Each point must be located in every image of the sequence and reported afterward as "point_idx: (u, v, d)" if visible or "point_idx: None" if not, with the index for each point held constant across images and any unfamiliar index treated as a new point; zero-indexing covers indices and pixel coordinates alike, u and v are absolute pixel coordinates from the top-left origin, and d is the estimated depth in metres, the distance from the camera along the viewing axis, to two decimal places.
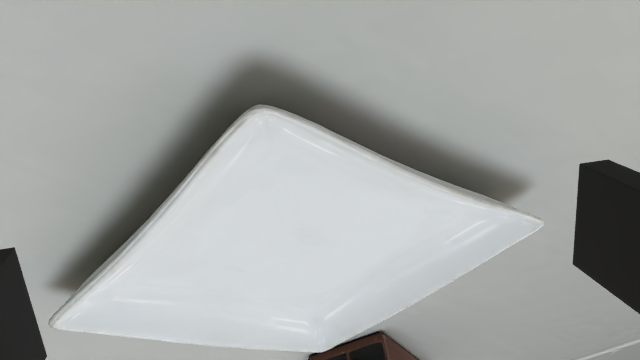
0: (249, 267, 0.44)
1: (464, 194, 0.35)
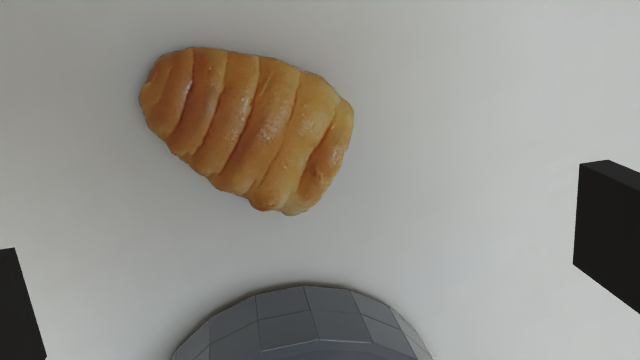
0: None
1: None
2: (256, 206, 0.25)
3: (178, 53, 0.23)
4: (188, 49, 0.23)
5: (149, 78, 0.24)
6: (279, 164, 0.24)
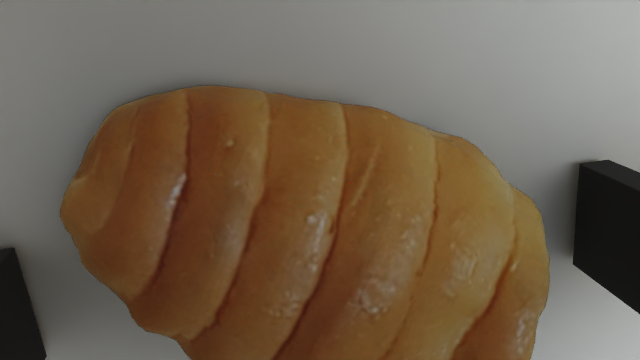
0: None
1: None
2: None
3: (151, 106, 0.10)
4: (175, 95, 0.10)
5: (84, 165, 0.10)
6: None
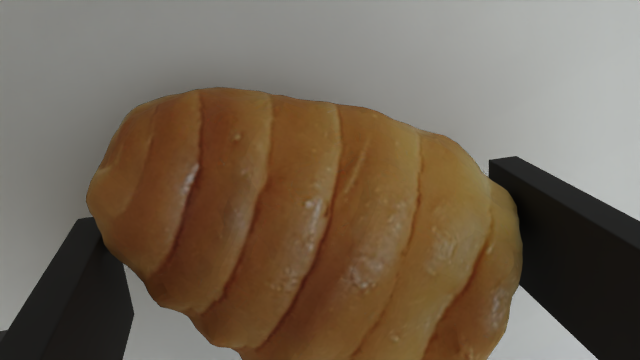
0: None
1: None
2: None
3: (168, 104, 0.11)
4: (189, 95, 0.11)
5: (108, 157, 0.11)
6: (386, 334, 0.11)
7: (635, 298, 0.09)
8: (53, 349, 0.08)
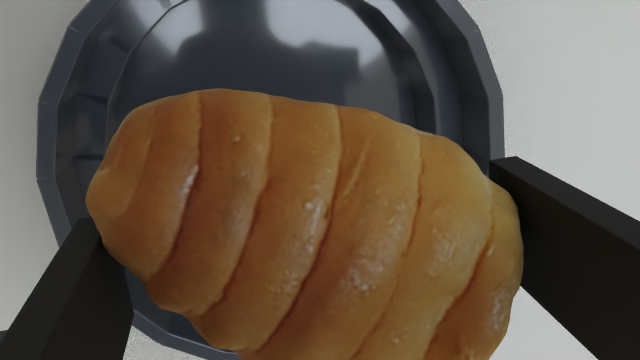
0: None
1: None
2: None
3: (168, 106, 0.11)
4: (189, 96, 0.11)
5: (107, 158, 0.11)
6: (386, 337, 0.11)
7: (635, 298, 0.09)
8: (53, 349, 0.08)
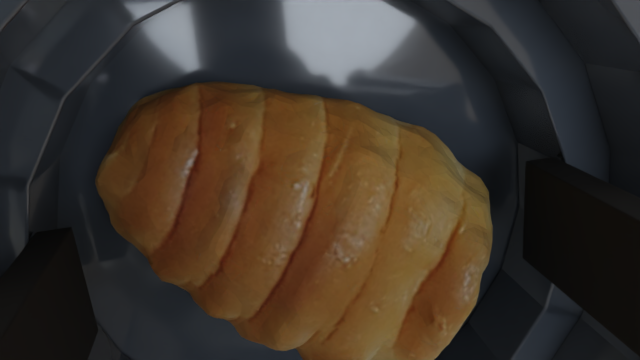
0: None
1: None
2: None
3: (170, 96, 0.12)
4: (189, 88, 0.12)
5: (115, 144, 0.12)
6: (366, 305, 0.12)
7: None
8: None
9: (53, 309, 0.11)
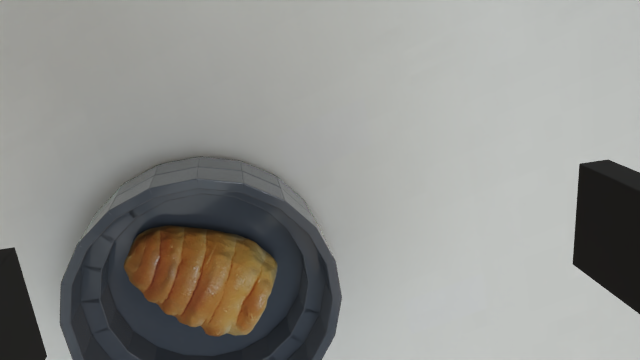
0: None
1: None
2: (208, 334, 0.36)
3: (150, 236, 0.34)
4: (157, 232, 0.34)
5: (130, 252, 0.34)
6: (221, 309, 0.34)
7: None
8: None
9: None
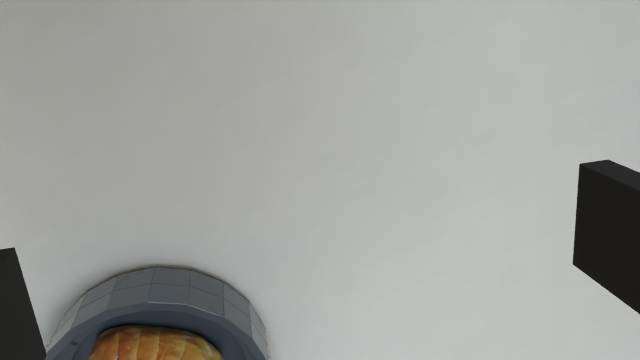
0: None
1: None
2: None
3: (110, 338, 0.39)
4: (116, 334, 0.39)
5: (93, 351, 0.40)
6: None
7: None
8: None
9: None
